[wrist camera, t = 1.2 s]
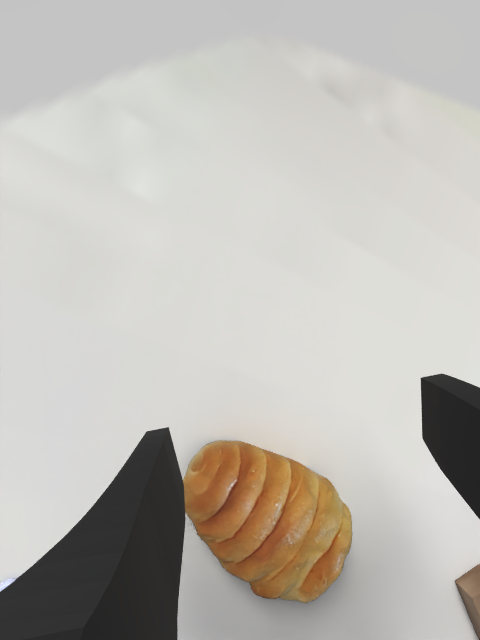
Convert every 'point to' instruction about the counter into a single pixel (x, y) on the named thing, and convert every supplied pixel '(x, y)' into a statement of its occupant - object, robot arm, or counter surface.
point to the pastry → (268, 519)
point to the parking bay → (471, 595)
